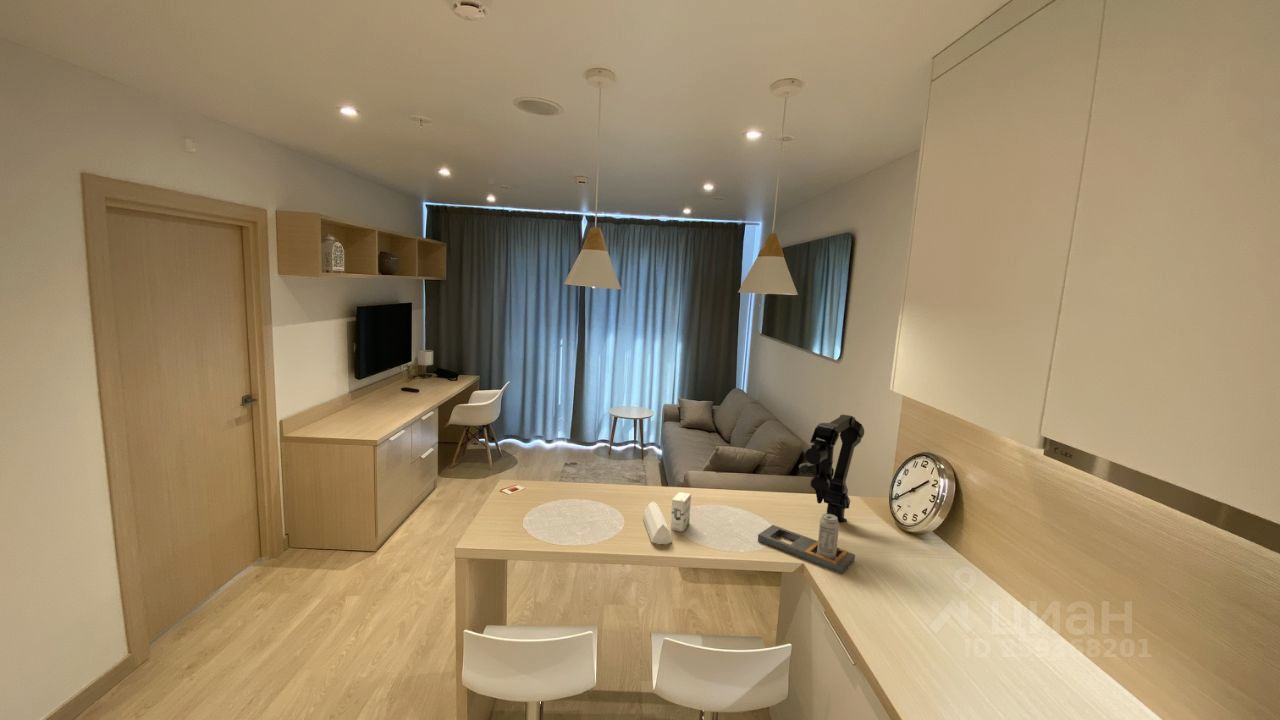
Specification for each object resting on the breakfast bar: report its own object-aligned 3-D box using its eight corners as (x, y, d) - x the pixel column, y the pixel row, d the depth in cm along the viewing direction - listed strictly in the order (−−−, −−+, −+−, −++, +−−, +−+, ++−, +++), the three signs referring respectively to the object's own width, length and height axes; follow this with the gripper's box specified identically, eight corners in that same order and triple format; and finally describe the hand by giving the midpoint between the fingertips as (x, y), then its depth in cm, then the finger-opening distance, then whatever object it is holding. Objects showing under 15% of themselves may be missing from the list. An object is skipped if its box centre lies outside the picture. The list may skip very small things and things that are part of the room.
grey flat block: (757, 541, 182) (758, 533, 182) (772, 531, 190) (772, 524, 190) (842, 574, 162) (842, 566, 162) (854, 561, 170) (855, 553, 170)
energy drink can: (838, 560, 171) (843, 517, 169) (829, 565, 167) (833, 522, 165) (822, 552, 176) (826, 511, 174) (813, 558, 172) (816, 516, 170)
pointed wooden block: (637, 507, 198) (647, 536, 175) (653, 497, 199) (665, 526, 175) (646, 522, 200) (657, 553, 176) (662, 513, 200) (675, 543, 177)
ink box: (677, 520, 196) (679, 491, 195) (689, 522, 195) (691, 493, 193) (670, 529, 189) (671, 499, 187) (683, 532, 187) (684, 501, 185)
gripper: (805, 448, 199) (801, 486, 201) (797, 461, 182) (794, 503, 184) (835, 452, 194) (831, 492, 196) (830, 467, 177) (826, 509, 179)
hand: (820, 498), depth 189 cm, fingers open, 9 cm apart
